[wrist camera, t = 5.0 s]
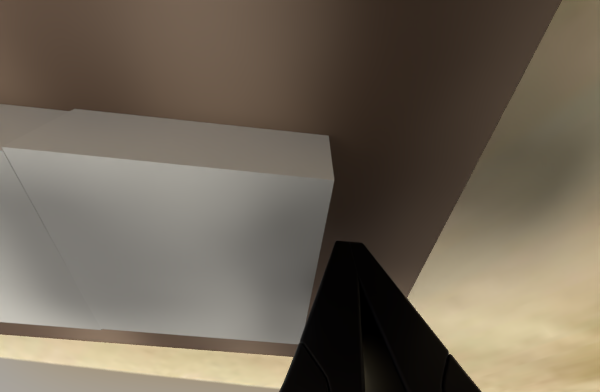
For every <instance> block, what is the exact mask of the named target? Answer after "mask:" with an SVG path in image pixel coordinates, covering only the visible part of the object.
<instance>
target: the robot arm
mask: <svg viewBox="0 0 600 392" xmlns="http://www.w3.org/2000/svg"><path fill="white" fill-rule="evenodd" d="M448 354H449V351H448V350H447V349H446V347H445V346H444V345H443V343H442V342H441V341H440V340H439V338H438V337H437V336H436V335H435V333H434V332H433V331H432V330H431V328H430V327H429V326H428V325H427V323H426V322H425V321H424V319H423V318H422V317H421V316H420V314H419V313H418V312H417V311H416V309H415V308H414V307H413V306H412V304H411V303H410V302H409V300H408V299H407V298H406V297H405V295H404V294H403V293H402V292H401V290H400V289H399V288H398V287H397V285H396V284H395V283H394V282H393V280H392V279H391V278H390V276H389V275H388V274H387V273H386V271H385V270H384V269H383V268H382V266H381V265H380V264H379V263H378V261H377V260H376V259H375V257H374V256H373V255H372V254H371V252H370V251H369V250H368V249H367V247H366V246H365V245H364V244H363V243H361V242H348V241H339V240H337V241H335V243H334V246H333V249H332V252H331V255H330V257H329V260H328V263H327V266H326V269H325V271H324V274H323V277H322V280H321V283H320V285H319V288H318V291H317V294H316V297H315V299H314V302H313V305H312V308H311V311H310V313H309V316H308V319H307V322H306V325H305V327H304V330H303V333H302V336H301V339H300V343H299V344H298V346H297V349H296V352H295V355H294V358H293V360H292V363H291V365H290V368H289V370H288V373H287V375H286V378H285V380H284V383H283V385H282V387H281V389H280V391H279V392H481V390H480V389H479V388H478V387H477V386H476V384H475V383H474V382H473V381H472V380H471V378H470V377H469V376H468V375H467V373H466V372H465V371H464V370H463V369H462V367H461V366H460V365H459V364H458V362H457V361H456V360H455V358H454V357H453V356H452V355H451V354H449V355H448Z"/></svg>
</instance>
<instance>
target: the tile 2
mask: <svg viewBox="0 0 600 392" xmlns="http://www.w3.org/2000/svg"><path fill="white" fill-rule="evenodd" d="M2 149H3V151H4V153H5V155H6V156H7V158H8V160H9V162H10V164H11V166H12V167H13V169H14V171H15V173H16V175H17V176H18V178H19V180H20V182H21V184H22V186H23V187H24V189H25V191H26V193H27V195H28V196H29V198H30V200H31V202H32V204H33V206H34V207H35V209H36V211H37V213H38V215H39V217H40V218H41V220H42V222H43V224H44V226H45V227H46V229H47V231H48V233H49V235H50V237H51V238H52V240H53V242H54V244H55V246H56V248H57V249H58V251H59V253H60V255H61V257H62V258H63V260H64V262H65V264H66V266H67V268H68V269H69V271H70V273H71V275H72V277H73V279H74V280H75V282H76V284H77V286H78V288H79V289H80V291H81V293H82V295H83V297H84V299H85V300H86V302H87V304H88V306H89V308H90V310H91V311H92V313H93V315H94V317H95V319H96V320H97V322H98V324H99V326H100V328H101V329H108V330H121V331H134V332H147V333H159V334H172V335H185V336H198V337H210V338H223V339H236V340H249V341H261V342H274V343H287V344H299V343H300V339H301V336H302V333H303V330H304V327H305V323H306V318H307V313H308V308H309V303H310V298H311V293H312V289H313V284H314V279H315V274H316V269H317V264H318V259H319V254H320V249H321V244H322V239H323V234H324V229H325V224H326V219H327V214H328V209H329V204H330V199H331V194H332V189H333V184H334V174H333V166H332V158H331V150H330V142H329V136H327V135H318V134H308V133H299V132H290V131H280V130H271V129H261V128H252V127H242V126H233V125H223V124H214V123H204V122H195V121H185V120H176V119H167V118H157V117H148V116H138V115H129V114H119V113H110V112H100V111H91V110H81V109H73V110H71V111H69V112H68V113H66V114H64V115H62V116H60V117H58V118H56V119H54V120H52V121H50V122H48V123H46V124H44V125H42V126H41V127H39V128H37V129H35V130H33V131H31V132H29V133H27V134H25V135H23V136H21V137H19V138H17V139H15V140H14V141H12V142H10V143H8V144H6V145H4V146H2Z"/></svg>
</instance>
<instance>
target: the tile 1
mask: <svg viewBox="0 0 600 392" xmlns="http://www.w3.org/2000/svg"><path fill="white" fill-rule="evenodd" d="M68 112H69V111H62V110H53V109H43V108H34V107H24V106H15V105H5V104H0V322H6V323H19V324H31V325H44V326H56V327H69V328H81V329H94V330H102V329H101V328H100V326H99V324H98V322H97V320H96V319H95V317H94V315H93V313H92V311H91V310H90V308H89V306H88V304H87V302H86V300H85V299H84V297H83V295H82V293H81V291H80V289H79V288H78V286H77V284H76V282H75V280H74V279H73V277H72V275H71V273H70V271H69V269H68V268H67V266H66V264H65V262H64V260H63V258H62V257H61V255H60V253H59V251H58V249H57V248H56V246H55V244H54V242H53V240H52V238H51V237H50V235H49V233H48V231H47V229H46V227H45V226H44V224H43V222H42V220H41V218H40V217H39V215H38V213H37V211H36V209H35V207H34V206H33V204H32V202H31V200H30V198H29V196H28V195H27V193H26V191H25V189H24V187H23V186H22V184H21V182H20V180H19V178H18V176H17V175H16V173H15V171H14V169H13V167H12V166H11V164H10V162H9V160H8V158H7V156H6V155H5V153H4V151H3V149H2V146H4V145H6V144H8V143H10V142H12V141H14V140H15V139H17V138H19V137H21V136H23V135H25V134H27V133H29V132H31V131H33V130H35V129H37V128H39V127H41V126H42V125H44V124H46V123H48V122H50V121H52V120H54V119H56V118H58V117H60V116H62V115H64V114H66V113H68Z"/></svg>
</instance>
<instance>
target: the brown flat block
mask: <svg viewBox="0 0 600 392" xmlns="http://www.w3.org/2000/svg"><path fill="white" fill-rule="evenodd" d="M561 1H562V0H0V104H5V105H15V106H24V107H34V108H43V109H53V110H62V111H71V110H73V109H81V110H91V111H100V112H110V113H119V114H129V115H138V116H148V117H157V118H167V119H176V120H185V121H195V122H204V123H214V124H223V125H233V126H242V127H252V128H261V129H271V130H280V131H290V132H299V133H308V134H318V135H327V136H329V142H330V150H331V158H332V166H333V174H334V184H333V189H332V194H331V199H330V204H329V209H328V214H327V219H326V224H325V229H324V234H323V239H322V244H321V249H320V254H319V259H318V264H317V269H316V274H315V279H314V284H313V289H312V293H311V298H310V303H309V308H308V313H307V318H306V322H307V319H308V316H309V313H310V311H311V308H312V305H313V302H314V299H315V297H316V294H317V291H318V288H319V285H320V283H321V280H322V277H323V274H324V271H325V269H326V266H327V263H328V260H329V257H330V255H331V252H332V249H333V246H334V243H335V241H337V240H339V241H348V242H361V243H363V244H364V245H365V246H366V247H367V249H368V250H369V251H370V252H371V254H372V255H373V256H374V257H375V259H376V260H377V261H378V263H379V264H380V265H381V266H382V268H383V269H384V270H385V271H386V273H387V274H388V275H389V276H390V278H391V279H392V280H393V282H394V283H395V284H396V285H397V287H398V288H399V289H400V290H401V292H402V293H403V294H404V295H405V297H406V298H407V297H408V295H409V293H410V291H411V289H412V287H413V285H414V283H415V281H416V279H417V278H418V276H419V274H420V272H421V270H422V268H423V266H424V264H425V262H426V260H427V258H428V256H429V254H430V253H431V251H432V249H433V247H434V245H435V243H436V241H437V239H438V237H439V235H440V233H441V231H442V229H443V228H444V226H445V224H446V222H447V220H448V218H449V216H450V214H451V212H452V210H453V208H454V206H455V205H456V203H457V201H458V199H459V197H460V195H461V193H462V191H463V189H464V187H465V185H466V183H467V181H468V180H469V178H470V176H471V174H472V172H473V170H474V168H475V166H476V164H477V162H478V160H479V158H480V156H481V155H482V153H483V151H484V149H485V147H486V145H487V143H488V141H489V139H490V137H491V135H492V133H493V132H494V130H495V128H496V126H497V124H498V122H499V120H500V118H501V116H502V114H503V112H504V110H505V108H506V107H507V105H508V103H509V101H510V99H511V97H512V95H513V93H514V91H515V89H516V87H517V85H518V83H519V82H520V80H521V78H522V76H523V74H524V72H525V70H526V68H527V66H528V64H529V62H530V60H531V59H532V57H533V55H534V53H535V51H536V49H537V47H538V45H539V43H540V41H541V39H542V37H543V35H544V34H545V32H546V30H547V28H548V26H549V24H550V22H551V20H552V18H553V16H554V14H555V12H556V10H557V9H558V7H559V5H560V3H561ZM305 325H306V323H305ZM0 334H3V335H16V336H29V337H42V338H55V339H68V340H81V341H94V342H107V343H120V344H133V345H146V346H159V347H172V348H185V349H198V350H211V351H224V352H237V353H250V354H263V355H276V356H289V357H294V355H295V352H296V349H297V346H298V344H287V343H274V342H261V341H249V340H236V339H223V338H210V337H198V336H185V335H172V334H159V333H147V332H134V331H121V330H108V329H102V330H94V329H81V328H69V327H56V326H44V325H31V324H19V323H6V322H0Z"/></svg>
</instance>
